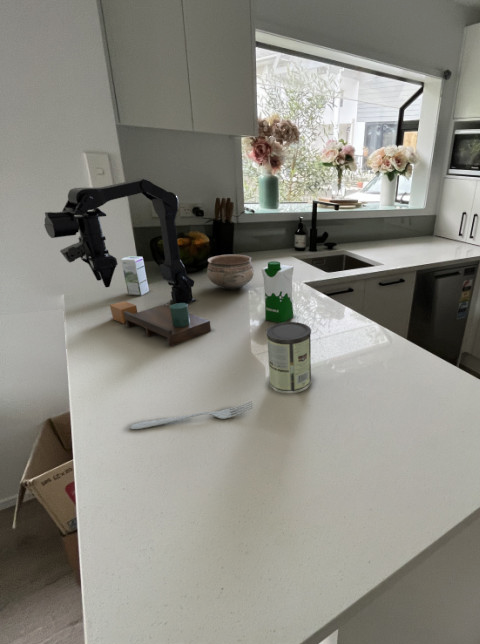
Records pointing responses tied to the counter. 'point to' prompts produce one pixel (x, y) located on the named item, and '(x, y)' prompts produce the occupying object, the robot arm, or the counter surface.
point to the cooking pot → (230, 271)
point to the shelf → (167, 324)
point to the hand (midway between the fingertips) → (103, 283)
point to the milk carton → (278, 292)
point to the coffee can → (289, 357)
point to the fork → (219, 414)
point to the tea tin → (180, 315)
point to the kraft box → (122, 310)
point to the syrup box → (135, 275)
